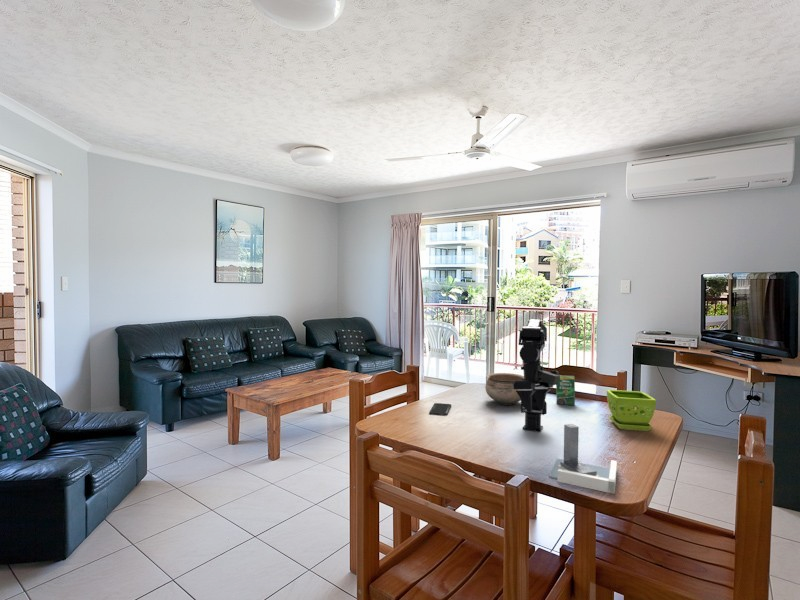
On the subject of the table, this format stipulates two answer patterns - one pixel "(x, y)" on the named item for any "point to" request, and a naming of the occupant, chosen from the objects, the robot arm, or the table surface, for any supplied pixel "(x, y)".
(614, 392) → the flower pot
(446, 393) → the table surface
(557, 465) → the mat
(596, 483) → the walls
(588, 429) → the table surface
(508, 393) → the cooking pot
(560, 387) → the coffee box
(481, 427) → the table surface
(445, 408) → the phone
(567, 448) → the bracket
